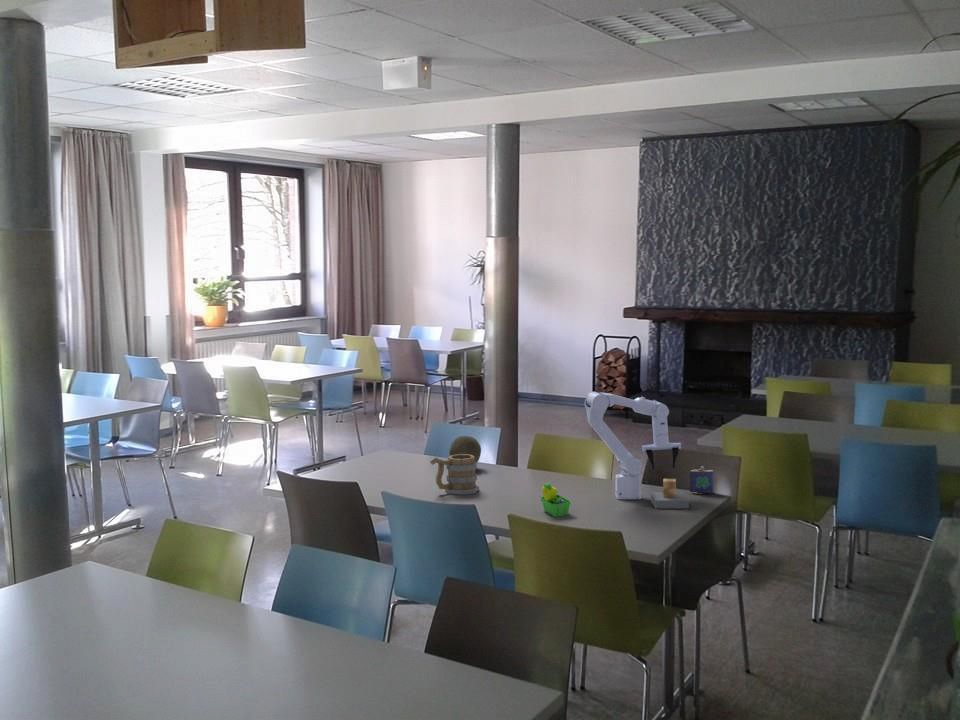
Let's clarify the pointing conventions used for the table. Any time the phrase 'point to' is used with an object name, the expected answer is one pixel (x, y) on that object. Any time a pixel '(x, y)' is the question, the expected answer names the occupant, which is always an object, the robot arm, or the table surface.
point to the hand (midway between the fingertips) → (663, 468)
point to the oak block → (669, 488)
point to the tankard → (457, 474)
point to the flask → (702, 481)
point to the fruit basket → (554, 501)
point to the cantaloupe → (466, 447)
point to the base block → (669, 500)
